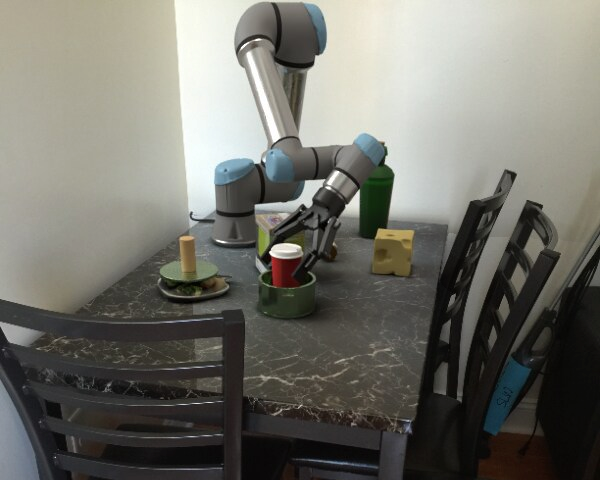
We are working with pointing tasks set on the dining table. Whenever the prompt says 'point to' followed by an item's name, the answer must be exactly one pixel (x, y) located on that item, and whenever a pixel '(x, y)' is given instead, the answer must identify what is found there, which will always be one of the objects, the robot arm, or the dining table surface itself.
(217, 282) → the salad plate
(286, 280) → the paper cup
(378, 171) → the bottle
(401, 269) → the cheese
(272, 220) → the tea box
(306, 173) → the robot arm
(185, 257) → the lid
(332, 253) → the rolling pin
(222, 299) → the dining table surface
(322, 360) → the dining table surface
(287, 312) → the pot
